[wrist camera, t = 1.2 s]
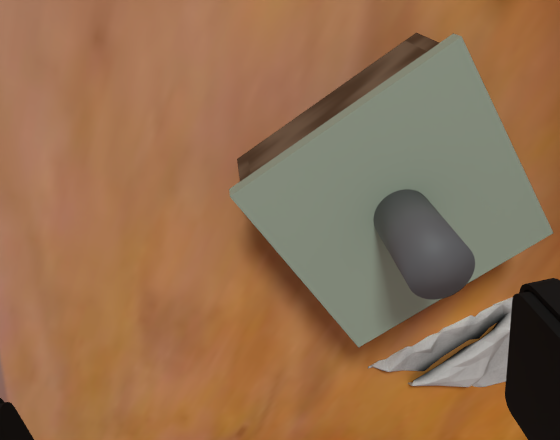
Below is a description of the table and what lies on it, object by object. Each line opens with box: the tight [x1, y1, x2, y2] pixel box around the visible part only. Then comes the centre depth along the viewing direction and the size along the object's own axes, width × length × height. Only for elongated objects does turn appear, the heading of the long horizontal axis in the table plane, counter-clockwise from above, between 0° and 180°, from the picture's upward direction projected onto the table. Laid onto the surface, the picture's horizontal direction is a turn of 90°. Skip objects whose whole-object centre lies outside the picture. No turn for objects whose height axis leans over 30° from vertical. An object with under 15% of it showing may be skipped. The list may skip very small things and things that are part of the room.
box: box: [237, 33, 439, 181], centre depth 34 cm, size 14×14×5 cm
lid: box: [229, 34, 553, 347], centre depth 29 cm, size 15×15×7 cm
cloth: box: [368, 297, 513, 387], centre depth 46 cm, size 26×14×2 cm, turn 76°
